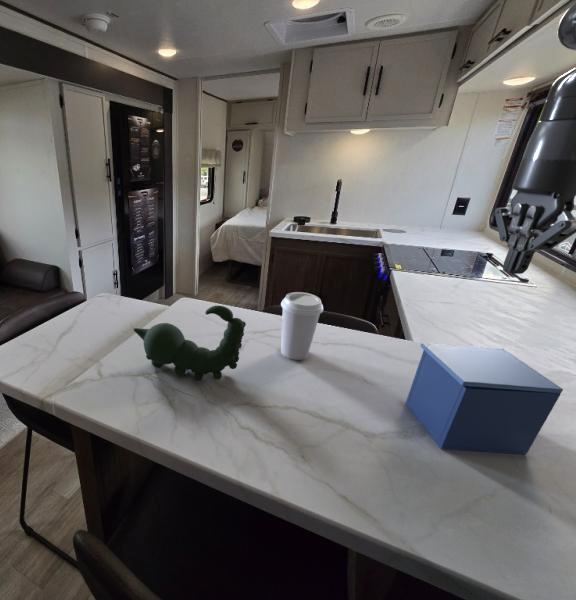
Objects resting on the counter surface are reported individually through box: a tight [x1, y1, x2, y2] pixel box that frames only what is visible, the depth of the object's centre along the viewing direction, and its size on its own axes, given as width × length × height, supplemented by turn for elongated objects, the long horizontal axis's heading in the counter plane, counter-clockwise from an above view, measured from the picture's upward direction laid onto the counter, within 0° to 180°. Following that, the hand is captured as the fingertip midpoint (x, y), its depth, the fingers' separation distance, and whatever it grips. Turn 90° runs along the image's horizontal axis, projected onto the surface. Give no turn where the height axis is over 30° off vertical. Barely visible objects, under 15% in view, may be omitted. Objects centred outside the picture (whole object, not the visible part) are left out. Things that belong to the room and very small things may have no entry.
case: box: [405, 349, 561, 455], centre depth 60 cm, size 14×12×13 cm
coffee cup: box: [280, 291, 324, 361], centre depth 83 cm, size 10×10×15 cm
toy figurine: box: [133, 305, 247, 382], centre depth 76 cm, size 9×19×25 cm
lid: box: [420, 342, 564, 394], centre depth 58 cm, size 14×12×1 cm
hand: (512, 272), depth 55 cm, fingers closed
